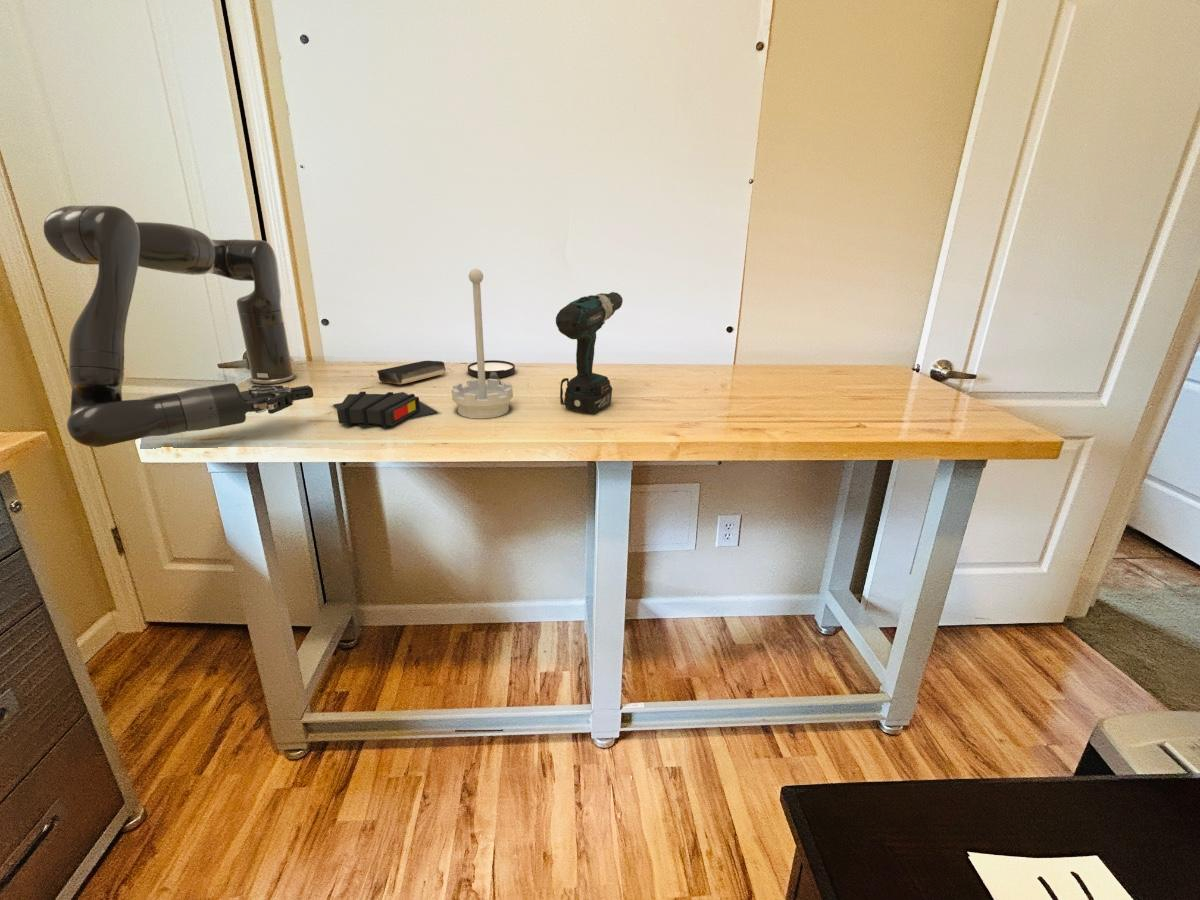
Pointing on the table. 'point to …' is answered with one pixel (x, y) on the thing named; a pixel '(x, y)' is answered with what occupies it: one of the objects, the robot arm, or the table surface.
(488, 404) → the flag stand
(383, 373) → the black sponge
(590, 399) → the power drill
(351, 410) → the black tall stepped block
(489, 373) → the magnifying glass
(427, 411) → the mat
